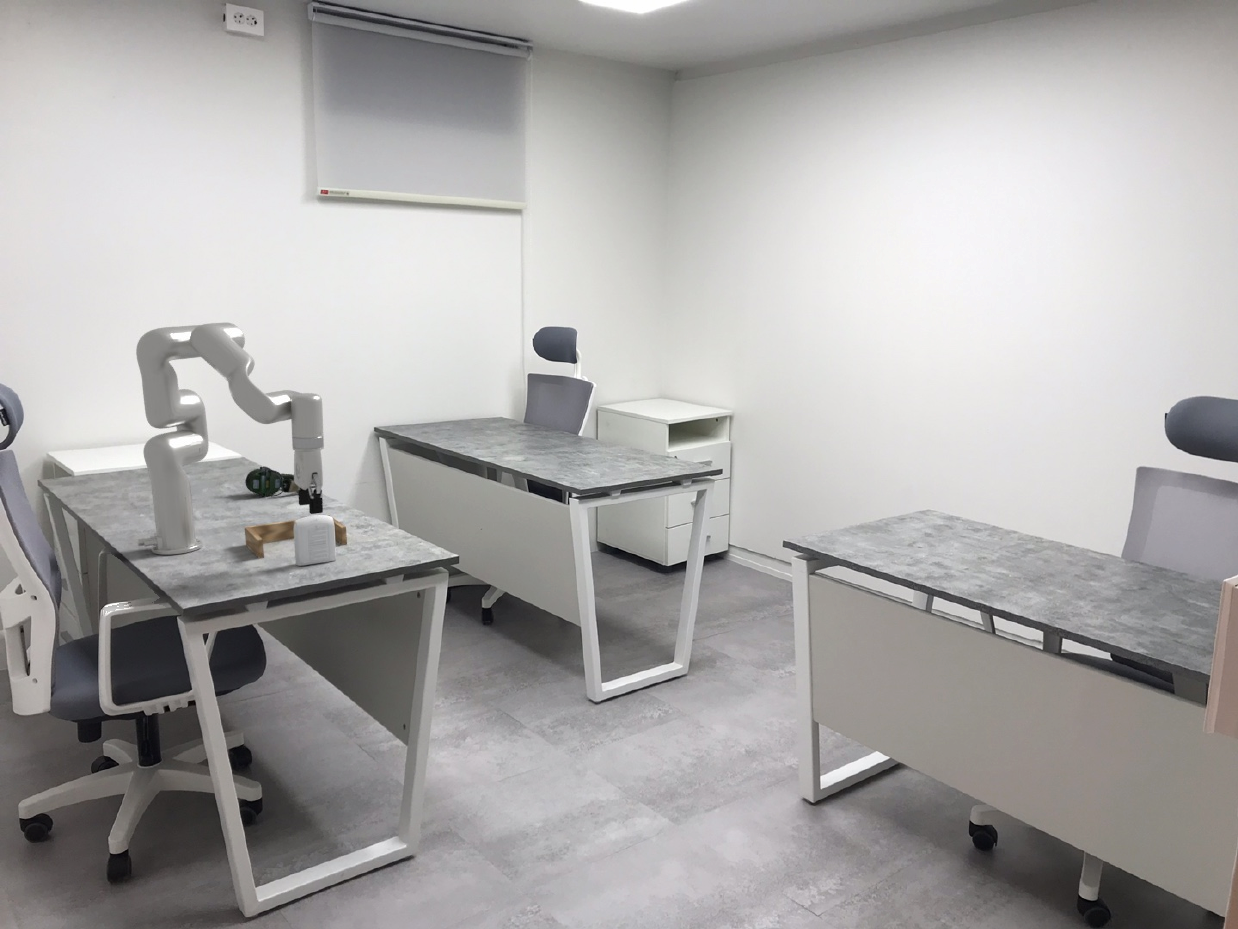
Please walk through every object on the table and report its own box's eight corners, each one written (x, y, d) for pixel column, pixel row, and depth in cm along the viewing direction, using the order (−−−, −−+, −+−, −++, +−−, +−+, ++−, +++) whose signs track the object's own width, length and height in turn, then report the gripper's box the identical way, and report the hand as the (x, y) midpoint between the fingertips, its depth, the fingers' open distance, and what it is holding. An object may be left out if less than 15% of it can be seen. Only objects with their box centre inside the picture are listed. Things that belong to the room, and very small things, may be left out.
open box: (259, 558, 251) (257, 540, 250) (246, 544, 264) (244, 527, 263) (347, 544, 263) (346, 526, 262) (330, 532, 276) (329, 515, 275)
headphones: (259, 486, 311) (318, 486, 324) (251, 453, 317) (309, 455, 330) (246, 509, 319) (304, 509, 332) (238, 477, 325) (295, 478, 338)
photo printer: (333, 557, 252) (330, 511, 249) (338, 561, 248) (335, 514, 246) (293, 563, 246) (290, 517, 244) (298, 567, 243) (294, 520, 240)
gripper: (283, 438, 246) (286, 503, 249) (302, 450, 232) (305, 518, 235) (313, 436, 250) (315, 499, 254) (333, 447, 236) (335, 514, 239)
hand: (310, 508), depth 244 cm, fingers open, 9 cm apart
